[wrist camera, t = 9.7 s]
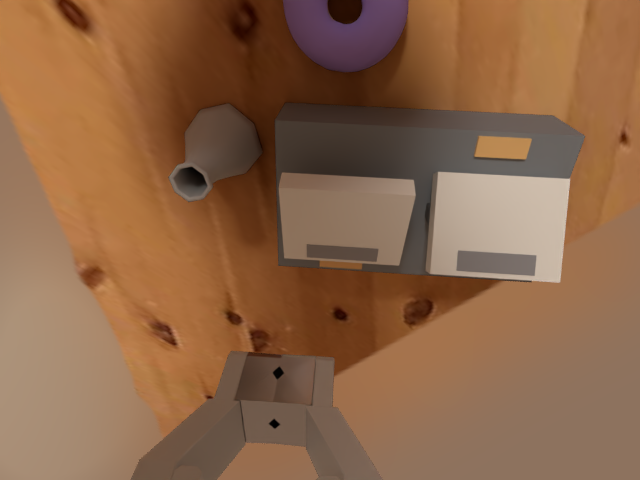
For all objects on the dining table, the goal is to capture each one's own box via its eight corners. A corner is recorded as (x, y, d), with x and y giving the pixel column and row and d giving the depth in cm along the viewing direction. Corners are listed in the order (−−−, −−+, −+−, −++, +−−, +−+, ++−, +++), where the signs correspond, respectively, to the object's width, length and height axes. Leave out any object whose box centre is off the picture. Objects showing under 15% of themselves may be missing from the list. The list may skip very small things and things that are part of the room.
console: (285, 102, 38) (271, 125, 32) (553, 115, 37) (595, 142, 31) (286, 235, 45) (275, 277, 39) (510, 249, 44) (537, 294, 38)
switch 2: (432, 173, 34) (438, 171, 32) (557, 180, 34) (570, 178, 32) (425, 270, 35) (430, 274, 33) (548, 278, 34) (560, 282, 32)
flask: (276, 154, 41) (255, 199, 32) (218, 188, 43) (185, 237, 35) (231, 88, 38) (195, 118, 29) (172, 128, 40) (123, 166, 32)
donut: (434, 3, 33) (434, 17, 29) (351, 82, 38) (342, 103, 35) (347, -110, 30) (335, -110, 26) (270, -5, 35) (251, 6, 32)
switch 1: (281, 172, 32) (278, 188, 30) (413, 179, 31) (415, 196, 30) (286, 242, 38) (284, 258, 36) (398, 250, 37) (399, 266, 36)
